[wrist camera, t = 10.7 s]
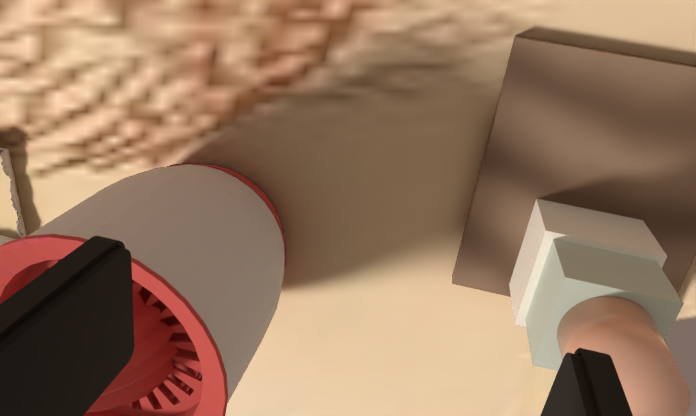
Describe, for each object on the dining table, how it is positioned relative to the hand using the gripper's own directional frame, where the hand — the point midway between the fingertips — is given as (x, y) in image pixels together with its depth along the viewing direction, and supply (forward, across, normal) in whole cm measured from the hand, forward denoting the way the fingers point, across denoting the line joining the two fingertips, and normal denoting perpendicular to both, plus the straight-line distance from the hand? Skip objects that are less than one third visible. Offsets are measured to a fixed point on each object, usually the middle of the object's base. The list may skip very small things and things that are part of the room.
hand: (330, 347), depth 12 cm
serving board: (+28, -12, +5) cm, 31 cm away
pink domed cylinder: (+18, -13, +9) cm, 24 cm away
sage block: (+22, -12, +9) cm, 27 cm away
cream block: (+27, -12, +10) cm, 31 cm away
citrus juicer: (+28, +15, +15) cm, 36 cm away
